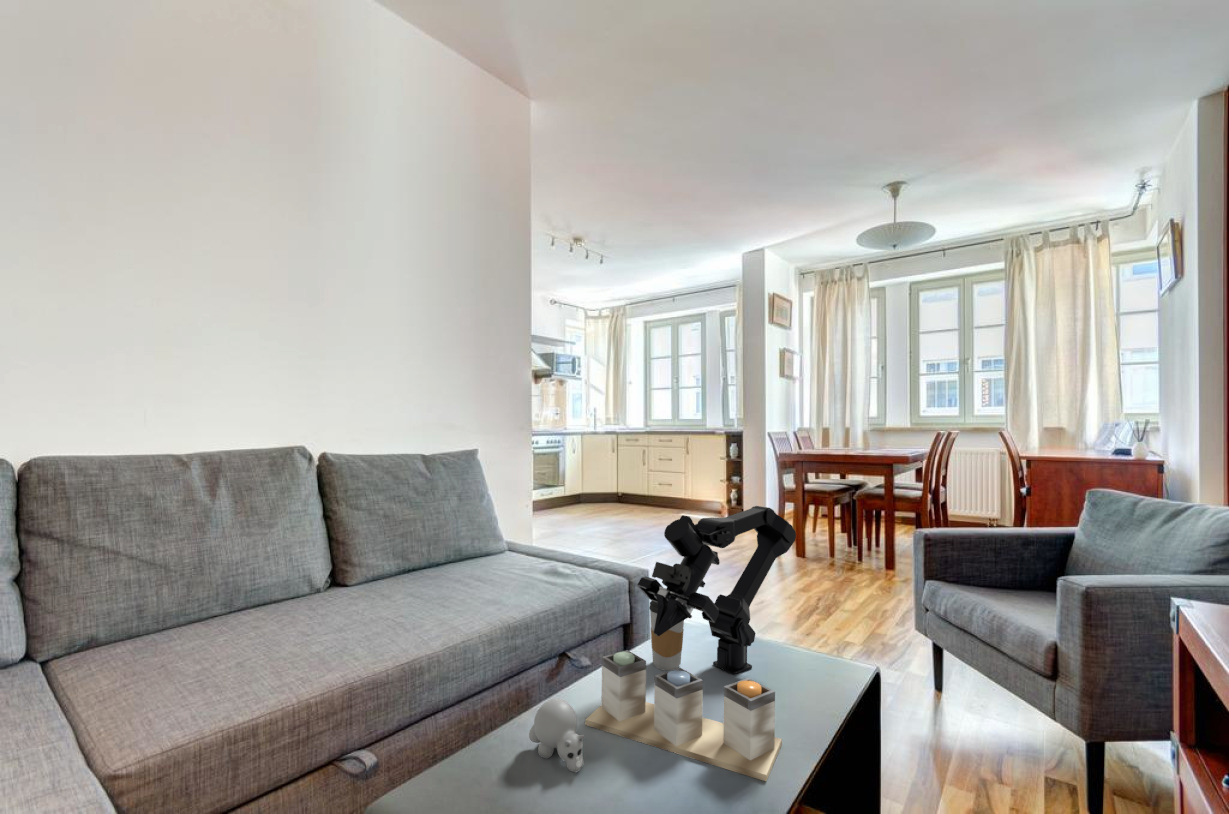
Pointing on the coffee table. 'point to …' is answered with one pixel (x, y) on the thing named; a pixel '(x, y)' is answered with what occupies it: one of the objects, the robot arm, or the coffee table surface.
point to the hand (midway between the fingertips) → (656, 634)
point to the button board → (691, 748)
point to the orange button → (749, 688)
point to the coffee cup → (666, 643)
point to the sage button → (623, 658)
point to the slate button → (678, 677)
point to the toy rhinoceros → (558, 733)
